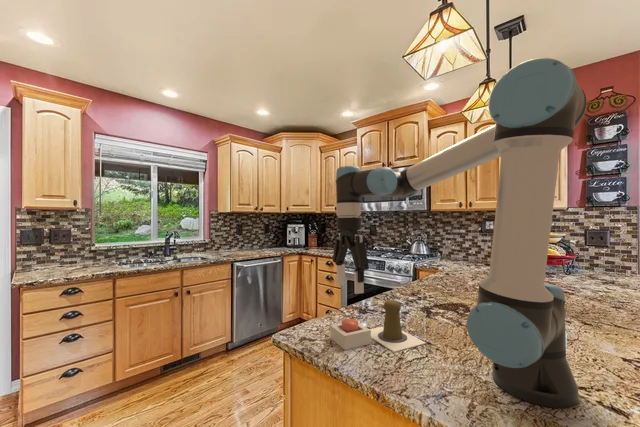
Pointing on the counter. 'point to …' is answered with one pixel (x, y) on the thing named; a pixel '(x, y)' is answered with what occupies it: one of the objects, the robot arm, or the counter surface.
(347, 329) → the button
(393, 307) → the brown pepper grinder
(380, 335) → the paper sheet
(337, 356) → the counter surface
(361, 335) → the button housing
